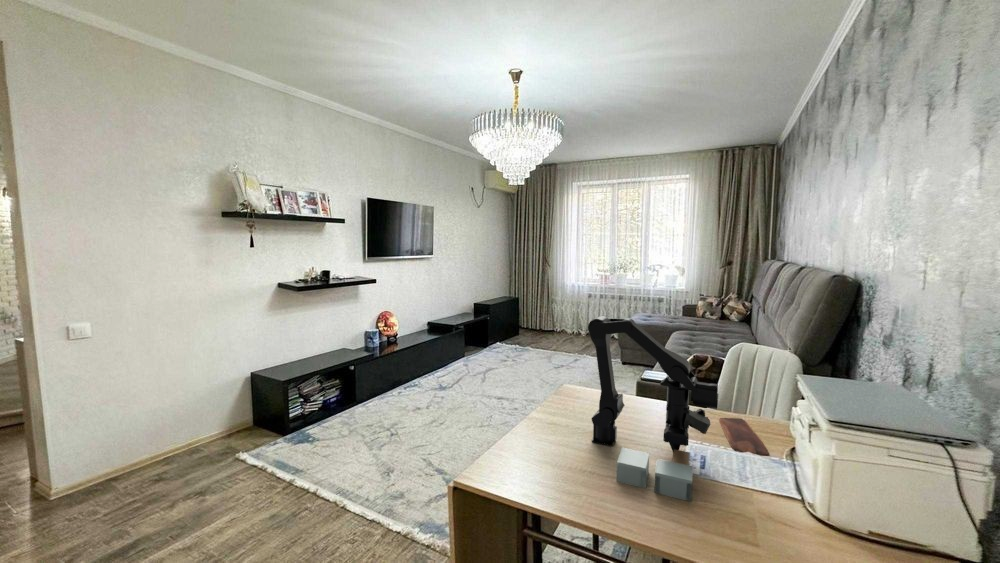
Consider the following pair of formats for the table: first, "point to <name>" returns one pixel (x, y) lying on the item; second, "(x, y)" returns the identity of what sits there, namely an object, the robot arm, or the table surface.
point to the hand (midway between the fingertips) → (675, 453)
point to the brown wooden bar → (680, 457)
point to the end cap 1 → (633, 467)
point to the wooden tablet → (742, 436)
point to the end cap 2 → (673, 480)
